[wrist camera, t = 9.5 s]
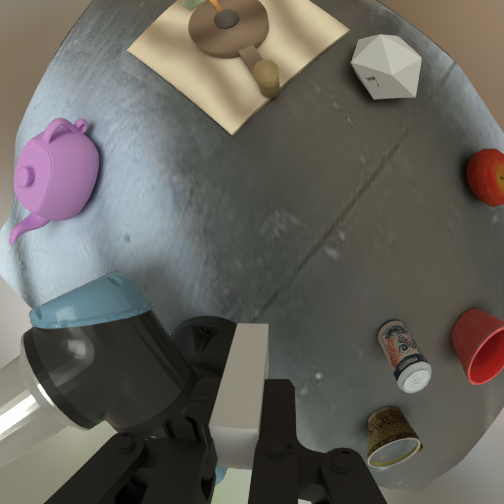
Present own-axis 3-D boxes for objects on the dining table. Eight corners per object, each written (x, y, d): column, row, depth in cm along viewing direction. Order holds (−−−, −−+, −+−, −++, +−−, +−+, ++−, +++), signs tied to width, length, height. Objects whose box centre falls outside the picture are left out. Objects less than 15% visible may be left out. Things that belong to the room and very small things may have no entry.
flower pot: (437, 358, 39) (459, 392, 29) (451, 303, 36) (481, 333, 27) (479, 347, 37) (503, 376, 28) (494, 296, 34) (524, 321, 25)
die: (339, 46, 29) (335, 57, 23) (394, 22, 23) (407, 27, 17) (371, 95, 33) (375, 121, 27) (424, 75, 27) (442, 97, 21)
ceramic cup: (350, 428, 45) (356, 467, 36) (378, 396, 42) (390, 436, 33) (398, 433, 45) (408, 467, 35) (426, 403, 42) (441, 438, 32)
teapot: (72, 107, 34) (21, 99, 23) (124, 137, 35) (71, 131, 24) (36, 210, 40) (-11, 224, 29) (79, 249, 41) (31, 272, 29)
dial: (180, 18, 27) (160, -5, 21) (244, -12, 25) (235, -40, 18) (237, 115, 31) (225, 101, 24) (311, 81, 29) (317, 60, 22)
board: (233, 136, 33) (231, 134, 32) (130, 52, 31) (126, 49, 29) (347, 33, 27) (349, 29, 26) (233, -36, 25) (231, -41, 23)
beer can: (404, 315, 37) (436, 361, 26) (404, 340, 38) (431, 388, 27) (375, 323, 38) (400, 373, 27) (377, 348, 39) (398, 400, 28)
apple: (477, 211, 31) (509, 221, 24) (448, 176, 31) (480, 180, 23) (498, 174, 29) (529, 178, 22) (470, 138, 29) (502, 135, 21)
